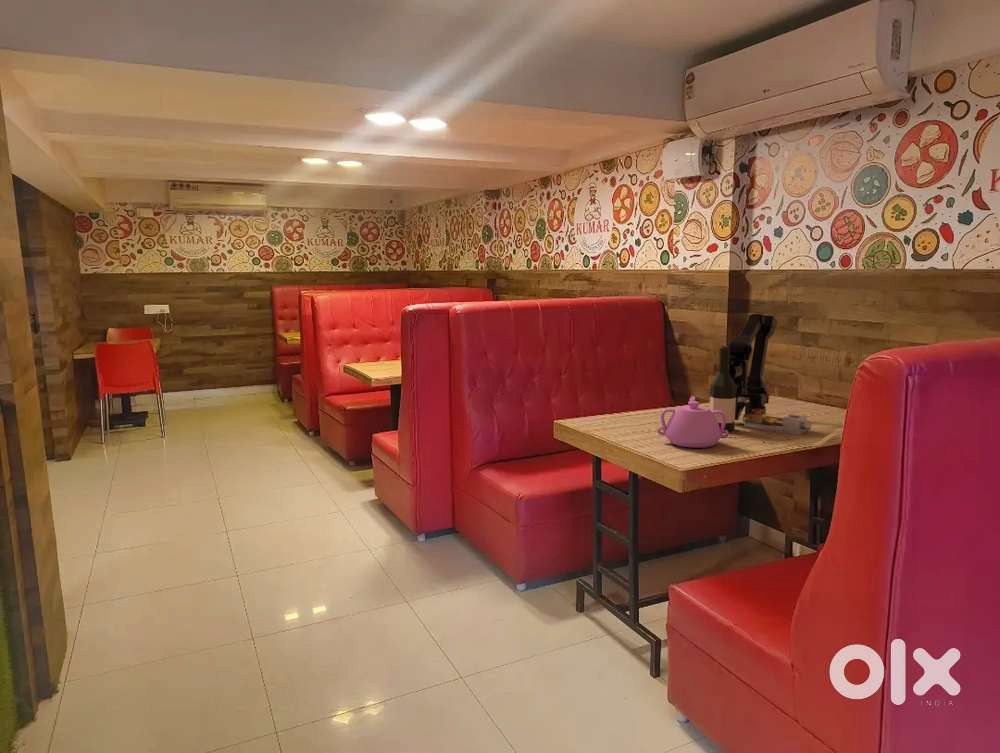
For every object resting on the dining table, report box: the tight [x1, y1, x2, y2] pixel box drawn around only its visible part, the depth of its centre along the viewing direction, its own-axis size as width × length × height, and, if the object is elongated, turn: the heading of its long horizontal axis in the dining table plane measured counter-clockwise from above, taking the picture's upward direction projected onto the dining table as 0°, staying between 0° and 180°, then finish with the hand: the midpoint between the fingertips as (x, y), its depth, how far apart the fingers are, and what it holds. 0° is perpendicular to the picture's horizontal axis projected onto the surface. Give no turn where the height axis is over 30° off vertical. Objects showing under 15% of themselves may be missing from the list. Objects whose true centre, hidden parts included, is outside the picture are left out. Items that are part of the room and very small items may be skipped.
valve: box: [742, 409, 778, 426], centre depth 235 cm, size 11×5×6 cm, turn 49°
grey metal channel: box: [740, 413, 812, 437], centre depth 232 cm, size 21×12×6 cm, turn 50°
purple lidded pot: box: [657, 395, 730, 449], centre depth 218 cm, size 22×22×14 cm
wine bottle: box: [709, 345, 736, 433], centre depth 229 cm, size 8×8×30 cm
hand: (736, 419), depth 241 cm, fingers closed
